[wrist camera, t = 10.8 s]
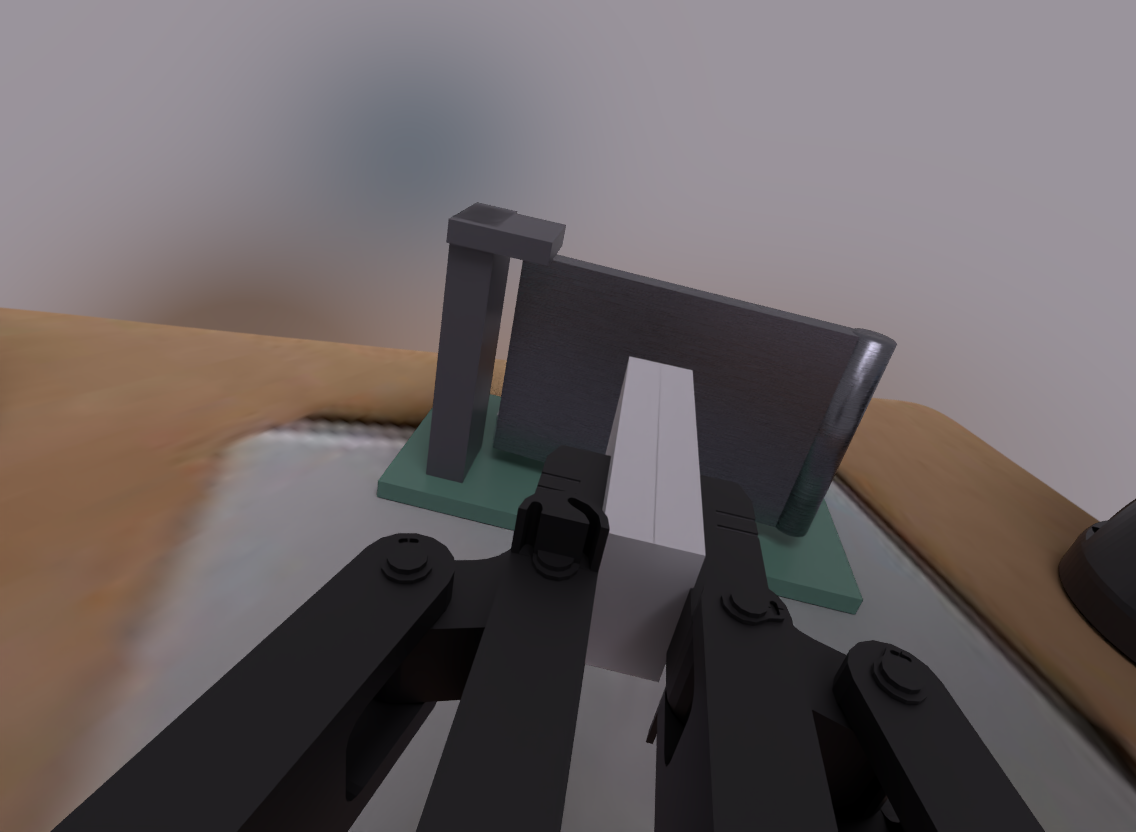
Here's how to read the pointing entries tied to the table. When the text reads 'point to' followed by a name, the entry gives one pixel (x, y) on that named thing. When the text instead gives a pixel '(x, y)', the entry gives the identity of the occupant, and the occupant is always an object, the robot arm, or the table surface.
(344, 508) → the table surface
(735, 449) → the dark grey rectangular panel
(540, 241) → the dark grey capped post
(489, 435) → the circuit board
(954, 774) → the robot arm
